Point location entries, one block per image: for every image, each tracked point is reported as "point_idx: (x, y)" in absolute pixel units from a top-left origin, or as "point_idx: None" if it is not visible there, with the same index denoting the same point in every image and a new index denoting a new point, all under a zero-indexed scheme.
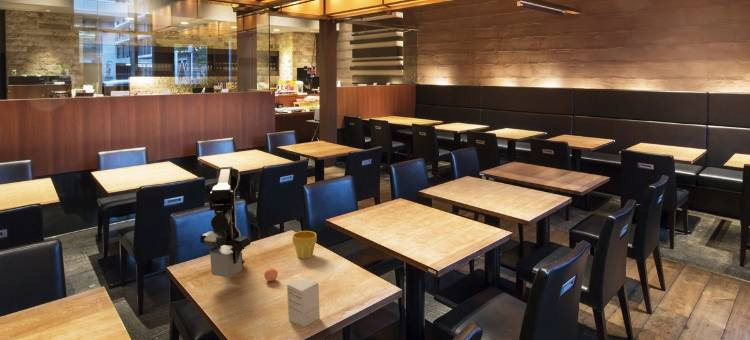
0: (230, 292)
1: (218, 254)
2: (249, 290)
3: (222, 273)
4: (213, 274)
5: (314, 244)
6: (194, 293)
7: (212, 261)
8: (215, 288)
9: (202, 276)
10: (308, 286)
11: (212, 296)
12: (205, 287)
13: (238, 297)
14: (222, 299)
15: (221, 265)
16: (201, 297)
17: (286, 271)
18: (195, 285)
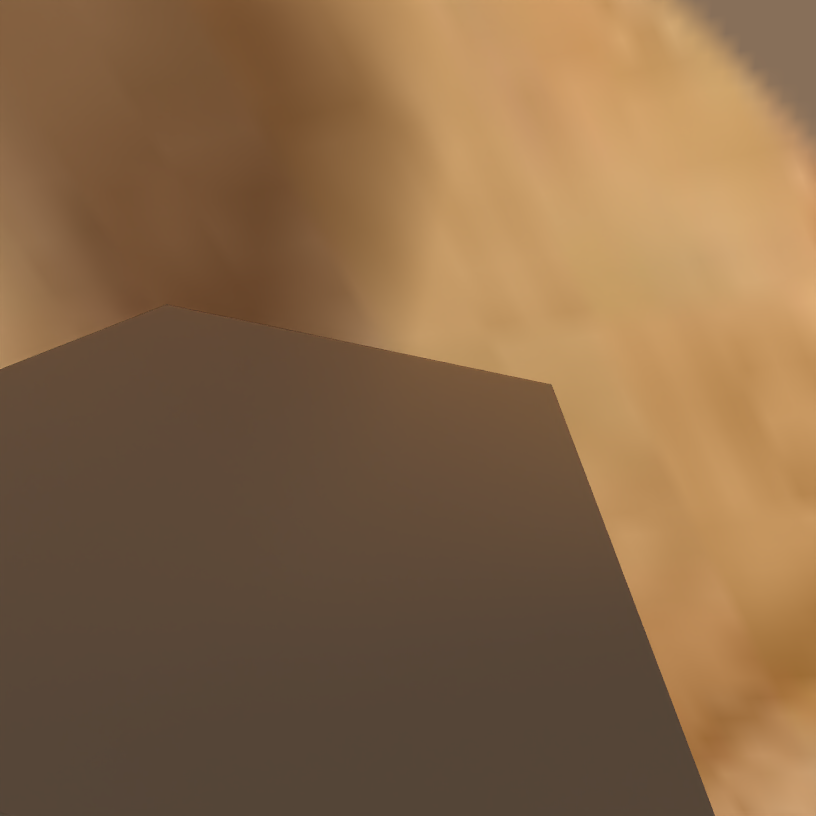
0: (240, 245)
1: (68, 757)
2: (63, 335)
3: (282, 352)
4: (512, 380)
5: None
6: (726, 110)
7: (540, 535)
8: (486, 315)
9: (801, 582)
10: None
11: (409, 77)
12: (636, 319)
13: (63, 131)
14: (222, 19)
15: (215, 424)
16: (557, 3)
17: None
18: (807, 351)
